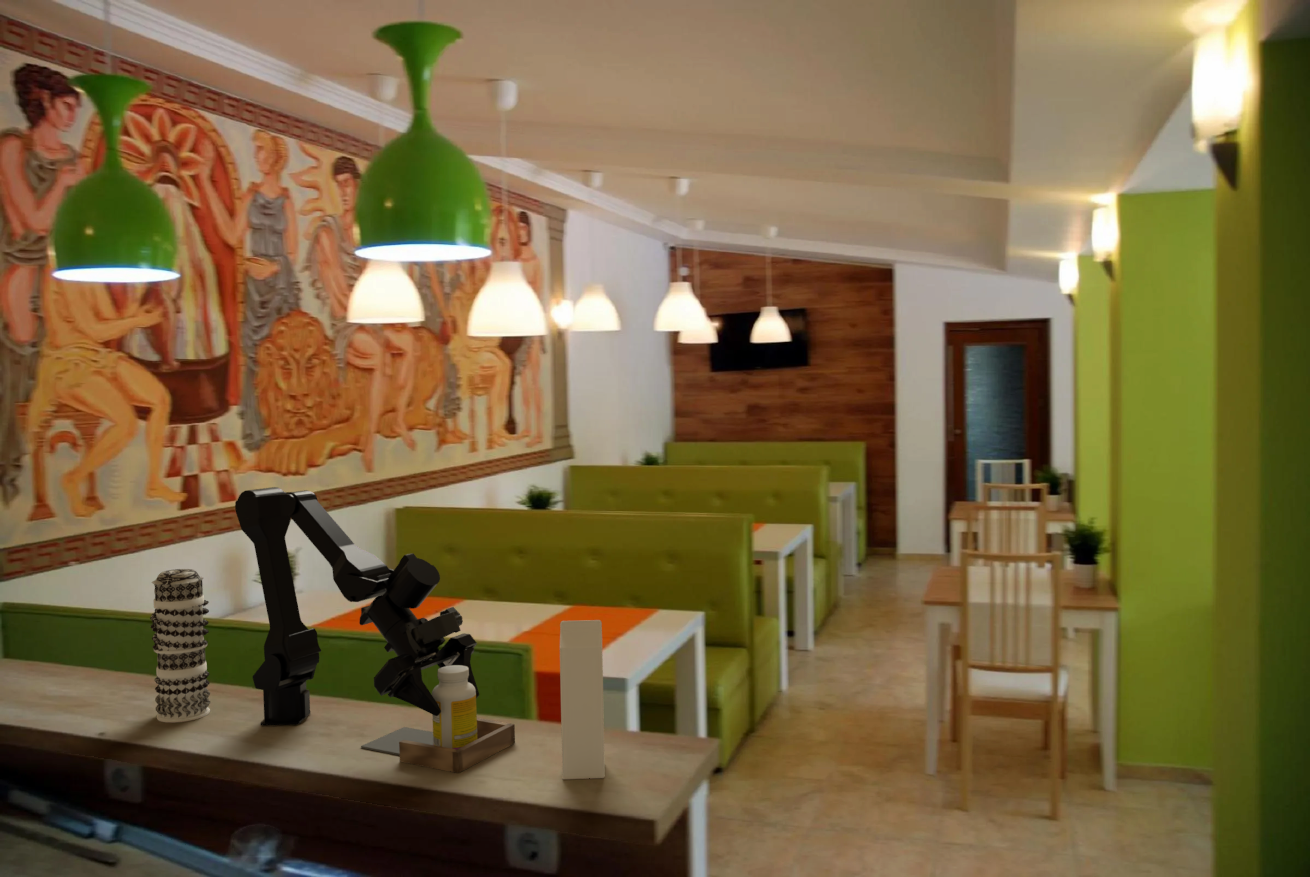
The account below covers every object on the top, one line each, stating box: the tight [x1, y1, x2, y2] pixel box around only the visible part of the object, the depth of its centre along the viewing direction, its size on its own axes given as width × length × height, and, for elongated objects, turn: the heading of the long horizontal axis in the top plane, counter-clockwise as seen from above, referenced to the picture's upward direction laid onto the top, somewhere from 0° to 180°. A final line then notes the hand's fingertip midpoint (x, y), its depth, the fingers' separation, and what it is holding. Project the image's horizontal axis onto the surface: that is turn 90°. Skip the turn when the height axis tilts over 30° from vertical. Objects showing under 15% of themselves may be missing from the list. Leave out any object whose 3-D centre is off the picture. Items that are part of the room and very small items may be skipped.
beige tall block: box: [559, 619, 606, 780], centre depth 150 cm, size 6×6×22 cm
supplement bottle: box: [431, 665, 478, 749], centre depth 159 cm, size 7×7×13 cm
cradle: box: [399, 717, 516, 774], centre depth 159 cm, size 11×14×3 cm
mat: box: [360, 726, 433, 756], centre depth 164 cm, size 10×10×1 cm
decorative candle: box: [149, 568, 211, 723], centre depth 180 cm, size 9×9×25 cm
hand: (458, 705), depth 159 cm, fingers open, 9 cm apart
